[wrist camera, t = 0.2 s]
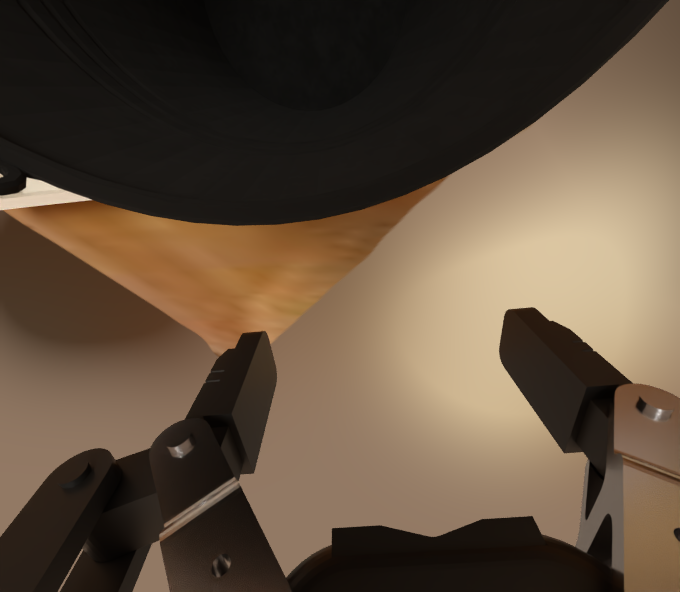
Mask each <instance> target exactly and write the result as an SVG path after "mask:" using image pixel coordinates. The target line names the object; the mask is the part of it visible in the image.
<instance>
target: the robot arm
mask: <svg viewBox="0 0 680 592" xmlns="http://www.w3.org/2000/svg"><path fill="white" fill-rule="evenodd" d="M499 353H500V359H501V362H502V364H503V366H504V368H505V369H506V370H507V372H508V373H509V375H510V376H511V378H512V379H513V381H514V382H515V383H516V385H517V386H518V388H519V389H520V391H521V392H522V393H523V395H524V396H525V398H526V399H527V401H528V402H529V404H530V405H531V406H532V408H533V409H534V411H535V412H536V414H537V415H538V416H539V418H540V419H541V421H542V422H543V424H544V425H545V426H546V428H547V429H548V431H549V432H550V434H551V435H552V437H553V438H554V439H555V441H556V442H557V444H558V445H559V447H560V448H561V449H562V451H563V452H564V453H574V452H584V454H585V455H586V456H587V458H588V460H587V463H586V466H585V475H584V486H583V497H582V507H581V518H580V527H579V533H578V539H577V542H576V546H575V547H574V546H572V545H570V544H568V543H566V542H563V541H561V540H558V539H555V538H552V537H549V536H546V535H542V534H541V532H540V531H539V528H538V526H537V524H536V523H535V521H534V519H533V517H532V516H528V517H512V518H495V519H482V520H479V521H476V522H474V523H472V524H469V525H466V526H464V527H461V528H459V529H456V530H453V531H451V532H448V533H446V534H443V535H441V536H437V537H428V536H423V535H420V534H415V533H411V532H406V531H402V530H398V529H393V528H389V527H385V526H363V527H347V528H333V529H332V545H330V546H328V547H326V548H323V549H321V550H319V551H317V552H316V553H314V554H312V555H311V556H309V557H308V558H307V559H305V560H304V561H303V562H301V563H300V564H299V565H298V566H297V567H296V568H295V569H294V570H293V571H292V572H291V573H290V574H289V575H288V576H287V577H285V575H284V574H283V571H282V569H281V567H280V565H279V563H278V561H277V559H276V557H275V555H274V553H273V551H272V549H271V547H270V545H269V543H268V541H267V539H266V537H265V535H264V533H263V531H262V529H261V527H260V525H259V523H258V521H257V519H256V517H255V515H254V513H253V511H252V509H251V507H250V504H249V502H248V501H247V499H246V496H245V494H244V493H243V491H242V488H241V486H240V484H239V482H238V481H239V478H240V474H252V473H254V471H255V467H256V463H257V459H258V455H259V451H260V447H261V443H262V439H263V435H264V431H265V427H266V423H267V419H268V415H269V411H270V407H271V403H272V398H273V395H274V391H275V387H276V381H277V373H276V365H275V361H274V357H273V353H272V350H271V346H270V342H269V338H268V335H267V333H266V332H265V331H261V332H250V333H243V334H242V335H241V337H240V339H239V341H238V343H237V345H236V347H235V349H228V350H227V351H226V352H224V353H223V354H222V355H221V356H220V357H219V358H218V359H217V360H216V362H215V364H214V366H213V368H212V369H211V373H210V374H209V375H208V377H207V379H206V383H204V384H203V386H202V388H201V390H200V392H199V394H198V396H197V397H196V400H195V401H194V403H193V405H192V407H191V409H190V411H189V413H188V414H187V416H186V418H185V420H182V421H179V422H177V423H175V424H173V425H171V426H170V427H168V428H167V429H166V430H164V431H163V432H162V433H161V434H160V435H159V436H158V437H157V438H156V440H155V441H154V442H153V444H152V446H151V448H149V449H147V450H144V451H141V452H138V453H135V454H132V455H129V456H126V457H123V458H121V459H118V460H115V459H114V457H113V456H112V454H111V453H110V452H109V451H108V450H106V449H101V448H98V449H91V450H88V451H84V452H82V453H80V454H78V455H76V456H74V457H72V458H70V459H69V460H67V461H66V462H64V463H63V464H61V465H60V466H59V467H58V468H57V469H55V470H54V471H53V472H52V473H51V474H50V475H49V476H48V477H47V479H46V480H45V481H44V482H43V484H42V485H41V486H40V487H39V489H38V490H37V491H36V492H35V494H34V495H33V496H32V498H31V499H30V500H29V501H28V503H27V504H26V505H25V506H24V508H23V509H22V510H21V511H20V513H19V514H18V515H17V517H16V518H15V519H14V520H13V522H12V523H11V524H10V525H9V527H8V528H7V529H6V531H5V532H4V533H3V534H2V536H1V537H0V592H58V590H59V588H60V586H61V584H62V583H63V581H64V579H65V577H66V576H67V574H68V572H69V570H70V569H71V567H72V565H73V563H74V561H75V560H76V558H77V556H78V554H79V553H80V551H81V549H83V552H82V554H81V555H80V557H79V559H78V561H77V562H76V564H75V566H74V568H73V570H72V571H71V573H70V575H69V577H68V578H67V580H66V582H65V584H64V586H63V587H62V589H61V591H60V592H132V591H133V589H134V586H135V584H136V581H137V579H138V576H139V574H140V571H141V569H142V567H143V564H144V561H145V559H146V556H147V554H148V552H149V549H150V547H151V544H152V543H154V542H156V541H159V540H160V546H161V551H162V555H163V560H164V565H165V570H166V575H167V580H168V584H169V589H170V592H680V398H679V397H677V396H675V395H673V394H671V393H669V392H667V391H664V390H662V389H659V388H655V387H652V386H648V385H643V384H633V383H632V382H631V381H630V380H628V379H627V378H626V377H625V376H624V375H623V374H621V373H620V372H619V371H618V370H617V369H616V368H614V367H613V366H612V365H611V364H610V363H608V362H607V361H606V360H605V359H604V358H603V357H602V356H601V355H599V354H598V353H597V352H595V351H593V349H592V348H591V347H590V346H589V345H588V344H587V343H585V342H583V341H582V339H581V338H580V337H578V336H577V335H576V334H575V333H574V332H572V331H571V330H570V329H568V328H566V327H564V326H562V325H560V324H558V323H556V322H554V321H549V320H548V319H547V318H546V317H544V316H543V315H542V314H541V313H540V312H539V311H538V310H537V309H535V308H532V307H531V308H521V309H509V310H507V311H506V313H505V316H504V321H503V328H502V335H501V340H500V348H499Z"/></svg>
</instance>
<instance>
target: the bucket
mask: <svg viewBox="0 0 680 592" xmlns="http://www.w3.org/2000/svg"><path fill="white" fill-rule="evenodd" d="M668 1H669V0H0V174H2V175H3V177H1V178H0V196H4V195H10V194H16V193H19V192H20V191H22V190H23V189H25V188H26V182H27V178H31V179H36V180H41V181H43V182H45V183H48V184H50V185H52V186H55V187H57V188H60V189H63V190H65V191H68V192H71V193H74V194H77V195H80V196H83V197H86V198H89V199H92V200H94V201H97V202H100V203H103V204H107V205H111V206H114V207H118V208H122V209H126V210H130V211H134V212H138V213H142V214H146V215H150V216H156V217H162V218H168V219H174V220H180V221H186V222H193V223H206V224H220V225H235V226H239V225H275V224H285V223H293V222H301V221H309V220H317V219H322V218H327V217H331V216H336V215H340V214H344V213H349V212H353V211H357V210H362V209H365V208H368V207H371V206H374V205H377V204H380V203H383V202H385V201H388V200H391V199H394V198H397V197H400V196H403V195H406V194H408V193H410V192H412V191H415V190H417V189H419V188H421V187H424V186H426V185H428V184H430V183H433V182H435V181H437V180H439V179H442V178H444V177H446V176H448V175H450V174H452V173H453V172H455V171H457V170H459V169H460V168H462V167H464V166H466V165H468V164H469V163H471V162H473V161H475V160H476V159H479V158H480V157H482V156H484V155H486V154H488V153H489V152H491V151H492V150H494V149H495V148H497V147H498V146H500V145H501V144H503V143H504V142H506V141H507V140H509V139H510V138H512V137H513V136H515V135H516V134H518V133H519V132H521V131H522V130H524V129H525V128H527V127H528V126H530V125H531V124H533V123H534V122H535V121H537V120H538V119H539V118H541V117H542V116H543V115H544V114H546V113H547V112H548V111H549V110H550V109H552V108H553V107H554V106H556V105H557V104H558V103H559V102H560V101H562V100H563V99H564V98H566V97H567V96H568V95H569V94H571V93H572V92H573V91H574V90H576V89H577V88H578V87H580V86H581V85H582V84H583V83H584V82H586V81H587V80H588V79H589V78H590V77H591V76H592V75H593V74H594V73H595V72H596V71H598V70H599V69H600V68H601V67H602V66H603V65H604V64H605V63H606V62H607V61H608V60H609V59H611V58H612V57H613V56H614V55H615V54H616V53H617V52H618V51H619V50H620V49H621V48H623V47H624V46H625V45H626V44H627V43H628V42H629V41H630V40H631V39H632V38H633V37H634V36H635V35H636V34H637V33H638V32H639V31H640V30H641V29H642V28H643V27H644V26H645V25H646V24H647V23H648V22H649V21H650V20H651V19H652V17H653V16H654V15H655V14H656V13H657V12H658V11H659V10H660V9H661V8H662V7H663V6H664V5H665V4H666V3H667V2H668Z"/></svg>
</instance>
